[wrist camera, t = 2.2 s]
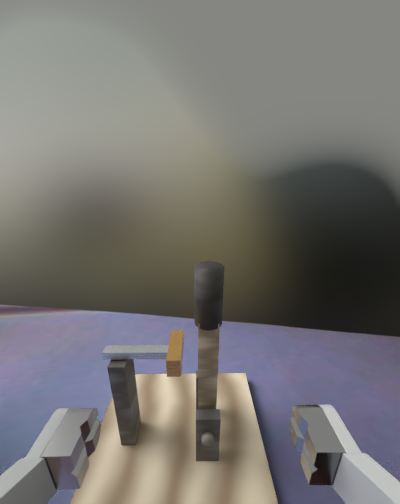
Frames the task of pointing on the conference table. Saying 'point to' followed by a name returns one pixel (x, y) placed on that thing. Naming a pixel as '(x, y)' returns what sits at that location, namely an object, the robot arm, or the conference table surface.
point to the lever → (208, 328)
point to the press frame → (176, 444)
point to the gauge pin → (153, 353)
